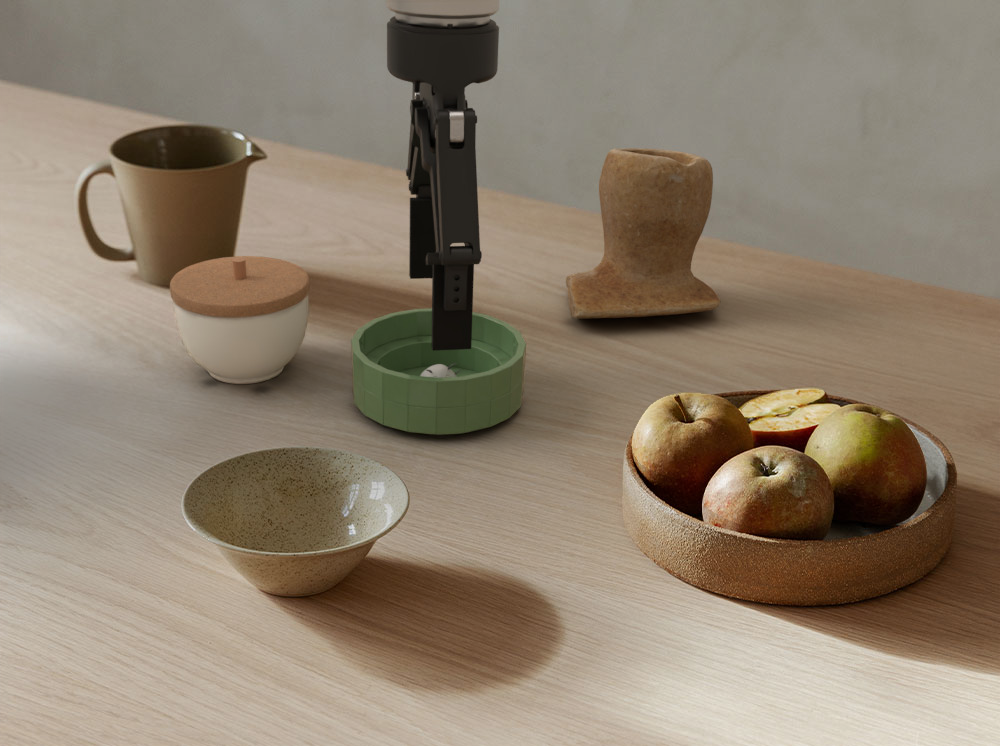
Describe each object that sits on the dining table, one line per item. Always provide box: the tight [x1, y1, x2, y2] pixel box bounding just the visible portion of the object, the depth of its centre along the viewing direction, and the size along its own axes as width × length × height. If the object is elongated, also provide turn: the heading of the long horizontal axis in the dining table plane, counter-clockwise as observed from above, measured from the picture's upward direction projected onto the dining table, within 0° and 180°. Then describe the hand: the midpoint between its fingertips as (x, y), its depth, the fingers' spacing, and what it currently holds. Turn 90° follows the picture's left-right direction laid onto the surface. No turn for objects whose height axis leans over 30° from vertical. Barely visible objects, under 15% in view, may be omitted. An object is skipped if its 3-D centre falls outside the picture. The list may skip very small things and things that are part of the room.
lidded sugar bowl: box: [169, 255, 310, 385], centre depth 88 cm, size 11×11×9 cm
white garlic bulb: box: [420, 364, 460, 378], centre depth 85 cm, size 3×4×3 cm
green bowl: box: [350, 307, 527, 436], centre depth 85 cm, size 13×13×5 cm
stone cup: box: [565, 147, 721, 319], centre depth 102 cm, size 15×12×15 cm
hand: (438, 310), depth 83 cm, fingers open, 13 cm apart
